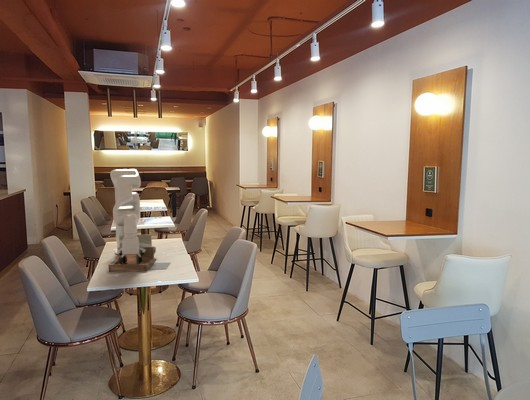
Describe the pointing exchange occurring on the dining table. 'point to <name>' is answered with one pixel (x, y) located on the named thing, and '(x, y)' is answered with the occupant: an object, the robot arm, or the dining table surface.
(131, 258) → the terracotta pot
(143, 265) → the box
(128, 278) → the dining table surface
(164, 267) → the slate mat
